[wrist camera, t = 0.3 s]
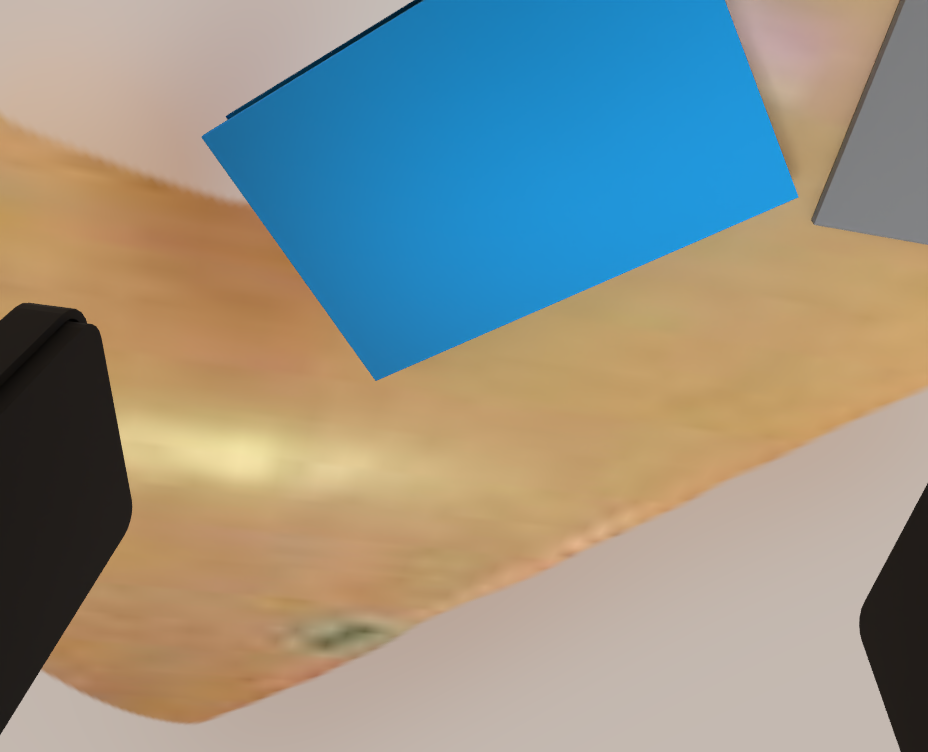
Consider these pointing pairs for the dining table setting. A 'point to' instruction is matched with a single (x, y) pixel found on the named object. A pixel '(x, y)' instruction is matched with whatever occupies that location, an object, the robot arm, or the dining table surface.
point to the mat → (887, 141)
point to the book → (501, 160)
